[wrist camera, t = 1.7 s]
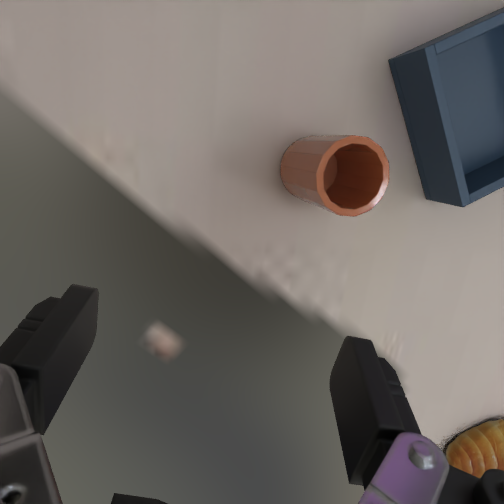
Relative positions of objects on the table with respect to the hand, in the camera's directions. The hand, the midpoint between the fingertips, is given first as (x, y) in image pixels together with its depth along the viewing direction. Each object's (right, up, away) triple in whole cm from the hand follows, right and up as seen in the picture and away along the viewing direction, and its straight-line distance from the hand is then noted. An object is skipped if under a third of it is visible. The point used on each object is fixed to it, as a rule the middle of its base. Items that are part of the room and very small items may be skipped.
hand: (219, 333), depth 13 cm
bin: (+20, +16, +23) cm, 35 cm away
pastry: (+28, -20, +35) cm, 49 cm away
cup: (+6, +10, +21) cm, 24 cm away
